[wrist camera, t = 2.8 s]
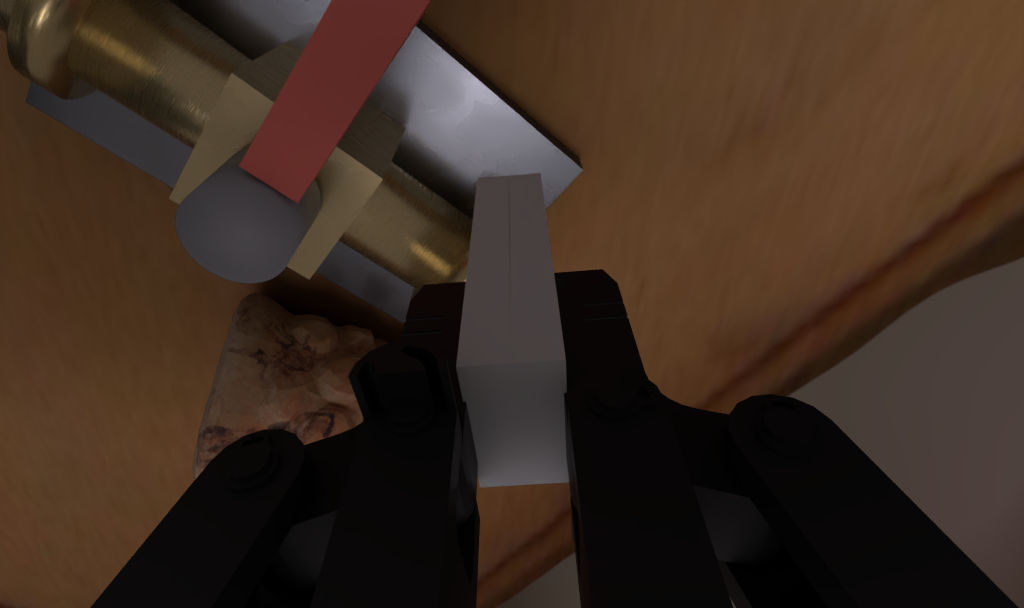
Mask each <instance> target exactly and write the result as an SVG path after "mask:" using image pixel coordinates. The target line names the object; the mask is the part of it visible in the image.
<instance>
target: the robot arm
mask: <svg viewBox="0 0 1024 608" xmlns="http://www.w3.org/2000/svg"><path fill="white" fill-rule="evenodd" d="M348 378H349V381H350V383H351V386H352V389H353V391H354V394H355V397H356V399H357V402H358V405H359V408H360V410H361V413H362V416H363V418H364V419H363V422H362V423H360V424H358V425H357V426H355V427H354V428H352V429H349V430H347V431H344V432H342V433H340V434H337V435H334V436H331V437H327V438H324V439H321V440H318V441H315V442H312V443H309V444H306V445H304V444H303V443H302V441H301V440H300V439H299V438H298V436H297V435H296V434H295V433H292V432H289V431H286V430H284V429H264V430H260V431H257V432H254V433H251V434H248V435H245V436H243V437H241V438H239V439H238V440H236V441H234V442H233V443H231V444H229V445H228V446H226V447H225V448H224V449H223V450H222V451H221V452H220V453H219V454H217V455H216V456H215V457H214V458H213V459H212V460H211V461H210V462H209V464H208V465H207V466H206V467H205V468H204V470H203V471H202V472H201V473H200V475H199V476H198V477H197V478H196V479H195V481H194V482H193V483H192V484H191V486H190V487H189V488H188V489H187V490H186V492H185V493H184V494H183V495H182V496H181V498H180V499H179V500H178V501H177V503H176V504H175V505H174V506H173V507H172V509H171V510H170V511H169V512H168V514H167V515H166V516H165V517H164V518H163V520H162V521H161V522H160V523H159V525H158V526H157V527H156V528H155V529H154V531H153V532H152V533H151V534H150V536H149V537H148V538H147V539H146V540H145V542H144V543H143V544H142V545H141V547H140V548H139V549H138V550H137V551H136V553H135V554H134V555H133V556H132V557H131V559H130V560H129V561H128V562H127V564H126V565H125V566H124V567H123V568H122V570H121V571H120V572H119V573H118V575H117V576H116V577H115V578H114V579H113V581H112V582H111V583H110V584H109V586H108V587H107V588H106V589H105V590H104V592H103V593H102V594H101V595H100V597H99V598H98V599H97V600H96V601H95V603H94V604H93V605H92V606H91V608H476V603H477V579H478V555H479V531H480V517H479V511H478V506H477V501H476V492H477V474H478V479H479V484H480V487H494V486H511V485H528V484H545V483H562V482H569V485H570V494H571V524H572V541H574V545H575V555H576V563H577V574H578V583H579V592H580V601H581V608H733V606H732V603H731V600H732V601H733V603H734V605H735V606H736V608H1018V607H1017V606H1016V605H1015V604H1014V603H1013V602H1012V601H1011V600H1010V599H1009V598H1008V597H1007V596H1006V595H1005V594H1004V593H1003V592H1002V591H1001V590H1000V589H999V588H998V587H997V586H996V585H995V584H994V583H993V581H991V579H990V578H989V577H988V576H986V574H984V572H983V571H982V570H980V568H979V567H977V565H976V564H975V563H973V561H972V560H971V559H970V558H969V557H968V556H967V555H966V554H964V552H963V551H962V550H961V549H959V547H958V546H957V545H956V544H954V542H952V540H951V539H950V538H949V537H948V536H947V535H945V534H944V533H943V532H942V530H941V529H940V528H938V526H937V525H936V524H935V523H934V522H933V521H932V520H931V519H930V518H929V517H928V516H927V515H926V514H924V512H923V511H922V510H921V509H920V508H919V507H918V506H917V505H916V504H915V503H914V502H913V501H912V500H911V499H910V498H909V497H908V496H907V495H906V494H905V493H904V492H903V491H901V489H900V488H899V487H898V486H897V485H896V484H895V483H894V482H893V481H892V480H891V479H890V478H889V477H888V476H887V475H886V474H885V473H884V472H883V471H882V470H881V469H880V468H879V467H878V466H877V465H876V464H875V463H874V462H873V461H872V460H871V459H870V458H869V457H868V456H867V455H866V454H865V453H864V452H863V451H862V450H861V449H860V448H859V447H858V446H857V445H856V444H855V443H854V442H853V441H852V440H851V439H850V438H849V437H848V436H847V435H846V434H845V433H844V432H843V431H842V430H841V429H840V428H839V427H838V426H837V425H836V424H835V423H834V422H833V421H832V420H831V419H829V418H828V417H827V416H825V415H824V414H823V413H821V412H820V411H819V410H818V409H816V408H815V407H813V406H811V405H809V404H806V403H804V402H802V401H799V400H797V399H794V398H791V397H785V396H780V395H774V394H768V395H758V396H751V397H749V398H747V399H745V400H743V401H741V402H739V403H737V405H736V406H735V408H734V409H733V410H732V412H731V413H730V414H729V415H728V414H722V413H717V412H712V411H706V410H701V409H696V408H692V407H689V406H685V405H682V404H679V403H677V402H675V401H673V400H671V399H669V398H667V397H666V396H664V395H663V394H662V393H661V392H660V391H659V389H658V387H657V386H656V385H655V384H654V383H652V382H651V381H650V380H649V379H648V377H647V375H646V373H645V371H644V368H643V364H642V361H641V358H640V355H639V351H638V348H637V345H636V342H635V338H634V335H633V332H632V329H631V325H630V322H629V319H628V318H627V312H626V309H625V306H624V304H623V300H622V296H621V293H620V290H619V287H618V283H617V282H616V281H614V280H613V279H612V278H611V277H610V276H609V275H608V274H607V273H606V272H605V271H604V270H602V269H600V270H587V271H574V272H561V273H554V269H553V262H552V254H551V247H550V240H549V232H548V225H547V218H546V210H545V203H544V196H543V188H542V181H541V173H534V174H522V175H510V176H498V177H486V178H478V179H477V188H476V196H475V205H474V214H473V223H472V232H471V240H470V249H469V258H468V267H467V275H466V282H453V283H440V284H426V285H424V286H423V287H422V288H421V289H420V290H419V291H418V292H417V294H416V295H415V296H414V297H413V298H412V299H411V300H410V303H409V307H408V311H407V315H406V322H405V323H404V327H403V331H402V337H401V339H400V341H397V342H392V343H387V344H385V345H383V346H380V347H378V348H376V349H374V350H372V351H370V352H368V353H367V354H366V355H365V356H363V357H362V358H361V359H360V360H359V361H357V362H356V363H355V365H354V367H353V368H352V370H351V372H350V373H349V375H348ZM729 596H730V597H729ZM730 598H731V600H730Z"/></svg>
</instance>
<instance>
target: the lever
mask: <svg viewBox="0 0 1024 608" xmlns="http://www.w3.org/2000/svg"><path fill="white" fill-rule="evenodd" d="M431 1H432V0H331V2H330V4H329V6H328V7H327V9H326V11H325V13H324V15H323V16H322V18H321V20H320V22H319V24H318V25H317V27H316V29H315V31H314V32H313V34H312V36H311V38H310V40H309V41H308V43H307V45H306V47H305V49H304V50H303V52H302V54H301V56H300V57H299V59H298V61H297V63H296V65H295V66H294V68H293V70H292V72H291V74H290V75H289V77H288V79H287V81H286V83H285V84H284V86H283V88H282V90H281V91H280V93H279V95H278V97H277V99H276V100H275V102H274V104H273V106H272V108H271V109H270V111H269V113H268V115H267V116H266V118H265V120H264V122H263V124H262V125H261V127H260V129H259V131H258V133H257V134H256V136H255V138H254V140H253V141H252V143H251V145H250V147H248V148H245V149H242V150H240V151H238V152H237V153H235V154H234V155H233V156H232V157H230V158H229V159H228V160H227V161H226V162H225V163H224V164H223V165H221V166H220V167H219V168H218V169H217V170H216V171H215V172H213V173H212V174H211V175H210V176H209V177H208V178H207V179H206V180H204V181H203V182H202V183H201V184H200V185H199V186H198V187H196V188H195V189H194V190H193V191H192V192H191V193H190V194H188V195H187V196H186V197H185V198H184V199H183V200H182V202H181V203H180V205H179V207H178V209H177V212H176V217H175V224H176V231H177V234H178V237H179V239H180V241H181V243H182V245H183V247H184V248H185V250H186V251H187V252H188V254H189V255H190V256H191V257H192V258H193V259H194V260H195V261H196V262H197V263H198V264H199V265H201V266H202V267H203V268H205V269H206V270H208V271H209V272H211V273H213V274H215V275H217V276H219V277H221V278H224V279H227V280H230V281H234V282H239V283H260V282H264V281H268V280H270V279H273V278H274V277H276V276H278V275H279V274H280V273H281V272H282V271H283V270H284V269H285V268H286V266H287V264H288V263H289V261H290V260H291V258H292V256H293V255H294V253H295V251H296V250H297V248H298V247H299V245H300V243H301V242H302V240H303V238H304V237H305V235H306V234H307V232H308V230H309V229H310V227H311V225H312V224H313V222H314V221H315V219H316V217H317V215H318V213H319V210H320V205H321V196H320V191H319V187H318V185H317V182H316V180H315V178H316V177H317V175H318V174H319V172H320V171H321V169H322V168H323V166H324V165H325V163H326V162H327V160H328V159H329V157H330V155H331V154H332V152H333V151H334V149H335V148H336V146H337V145H338V143H339V142H340V140H341V139H342V137H343V136H344V134H345V133H346V131H347V130H348V128H349V126H350V125H351V123H352V122H353V120H354V119H355V117H356V116H357V114H358V113H359V111H360V110H361V108H362V107H363V105H364V104H365V102H366V101H367V99H368V98H369V96H370V94H371V93H372V91H373V90H374V88H375V87H376V85H377V84H378V82H379V81H380V79H381V78H382V76H383V75H384V73H385V72H386V70H387V69H388V67H389V66H390V64H391V62H392V61H393V59H394V58H395V56H396V55H397V53H398V52H399V50H400V49H401V47H402V46H403V44H404V43H405V41H406V40H407V38H408V37H409V35H410V33H411V32H412V30H413V29H414V27H415V26H416V24H417V23H418V21H419V20H420V18H421V17H422V15H423V14H424V12H425V11H426V9H427V8H428V6H429V5H430V3H431Z"/></svg>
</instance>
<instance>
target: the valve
mask: <svg viewBox="0 0 1024 608" xmlns="http://www.w3.org/2000/svg"><path fill="white" fill-rule="evenodd" d="M330 2H331V0H0V29H1V30H2V31H4V32H6V33H7V50H8V55H9V59H10V61H11V63H12V65H13V67H14V68H15V70H16V71H17V72H19V73H20V74H21V75H23V76H24V77H26V78H28V79H29V80H31V81H32V82H31V85H30V88H29V92H28V95H27V99H26V102H27V103H29V104H30V105H32V106H34V107H36V108H37V109H39V110H41V111H42V112H44V113H46V114H47V115H49V116H51V117H53V118H54V119H56V120H58V121H59V122H61V123H63V124H64V125H66V126H68V127H70V128H71V129H73V130H75V131H76V132H78V133H80V134H81V135H83V136H85V137H87V138H88V139H90V140H92V141H93V142H95V143H97V144H99V145H100V146H102V147H104V148H105V149H107V150H109V151H110V152H112V153H114V154H116V155H117V156H119V157H121V158H122V159H124V160H126V161H127V162H129V163H131V164H133V165H134V166H136V167H138V168H139V169H141V170H143V171H145V172H146V173H148V174H150V175H151V176H153V177H155V178H156V179H158V180H160V181H162V182H163V183H165V184H167V185H168V186H170V187H172V188H173V191H172V193H171V195H170V197H169V199H171V200H172V201H174V202H176V203H178V204H179V205H180V203H181V202H182V200H183V199H184V198H185V197H186V196H187V195H188V194H190V193H191V192H192V191H193V190H194V189H195V188H196V187H198V186H199V185H200V184H201V183H202V182H203V181H204V180H206V179H207V178H208V177H209V176H210V175H211V174H212V173H213V172H215V171H216V170H217V169H218V168H219V167H220V166H221V165H223V164H224V163H225V162H226V161H227V160H228V159H229V158H230V157H232V156H233V155H234V154H235V153H237V152H238V151H240V150H242V149H245V148H248V147H250V145H251V143H252V141H253V140H254V138H255V136H256V134H257V133H258V131H259V129H260V127H261V125H262V124H263V122H264V120H265V118H266V116H267V115H268V113H269V111H270V109H271V108H272V106H273V104H274V102H275V100H276V99H277V97H278V95H279V93H280V91H281V90H282V88H283V86H284V84H285V83H286V81H287V79H288V77H289V75H290V74H291V72H292V70H293V68H294V66H295V65H296V63H297V61H298V59H299V57H300V56H301V54H302V52H303V50H304V49H305V47H306V45H307V43H308V41H309V40H310V38H311V36H312V34H313V32H314V31H315V29H316V27H317V25H318V24H319V22H320V20H321V18H322V16H323V15H324V13H325V11H326V9H327V7H328V6H329V4H330ZM582 171H583V168H582V165H581V162H580V159H579V158H578V157H577V156H575V155H574V154H573V153H572V152H571V151H570V150H568V149H567V148H566V147H565V146H564V145H563V144H562V143H560V142H559V141H558V140H557V139H556V138H555V137H554V136H552V135H551V134H550V133H549V132H548V131H547V130H545V129H544V128H543V127H542V126H541V125H540V124H539V123H537V122H536V121H535V120H534V119H533V118H532V117H530V116H529V115H528V114H527V113H526V112H525V111H524V110H522V109H521V108H520V107H519V106H518V105H517V104H516V103H514V102H513V101H512V100H511V99H510V98H509V97H507V96H506V95H505V94H504V93H503V92H502V91H501V90H499V89H498V88H497V87H496V86H495V85H494V84H492V83H491V82H490V81H489V80H488V79H487V78H486V77H484V76H483V75H482V74H481V73H480V72H479V71H478V70H476V69H475V68H474V67H473V66H472V65H471V64H469V63H468V62H467V61H466V60H465V59H464V58H463V57H461V56H460V55H459V54H458V53H457V52H456V51H454V50H453V49H452V48H451V47H450V46H449V45H448V44H446V43H445V42H444V41H443V40H442V39H441V38H440V37H438V36H437V35H436V34H435V33H434V32H433V31H431V30H430V29H429V28H428V27H427V26H426V25H425V24H423V23H422V22H421V21H420V20H419V21H418V23H417V24H416V26H415V27H414V29H413V30H412V32H411V33H410V35H409V37H408V38H407V40H406V41H405V43H404V44H403V46H402V47H401V49H400V50H399V52H398V53H397V55H396V56H395V58H394V59H393V61H392V62H391V64H390V66H389V67H388V69H387V70H386V72H385V73H384V75H383V76H382V78H381V79H380V81H379V82H378V84H377V85H376V87H375V88H374V90H373V91H372V93H371V94H370V96H369V98H368V99H367V101H366V102H365V104H364V105H363V107H362V108H361V110H360V111H359V113H358V114H357V116H356V117H355V119H354V120H353V122H352V123H351V125H350V126H349V128H348V130H347V131H346V133H345V134H344V136H343V137H342V139H341V140H340V142H339V143H338V145H337V146H336V148H335V149H334V151H333V152H332V154H331V155H330V157H329V159H328V160H327V162H326V163H325V165H324V166H323V168H322V169H321V171H320V172H319V174H318V175H317V177H316V178H315V180H316V182H317V185H318V187H319V191H320V196H321V205H320V210H319V213H318V215H317V217H316V219H315V221H314V222H313V224H312V225H311V227H310V229H309V230H308V232H307V234H306V235H305V237H304V238H303V240H302V242H301V243H300V245H299V247H298V248H297V250H296V251H295V253H294V255H293V256H292V258H291V260H290V261H289V263H288V264H287V267H288V268H290V269H292V270H293V271H295V272H297V273H299V274H300V275H302V276H304V277H306V278H307V279H309V280H310V278H311V277H312V276H313V274H314V273H315V272H317V273H318V274H320V275H322V276H323V277H325V278H327V279H328V280H330V281H332V282H334V283H335V284H337V285H339V286H340V287H342V288H344V289H346V290H347V291H349V292H351V293H352V294H354V295H356V296H357V297H359V298H361V299H363V300H364V301H366V302H368V303H369V304H371V305H373V306H374V307H376V308H378V309H380V310H381V311H383V312H385V313H386V314H388V315H390V316H392V317H393V318H395V319H397V320H398V321H400V322H402V323H403V324H404V323H405V322H406V315H407V311H408V307H409V303H410V300H411V299H412V298H413V297H414V296H415V295H416V294H417V292H418V291H419V290H420V289H421V288H422V287H423V286H424V285H426V284H440V283H453V282H466V275H467V267H468V258H469V249H470V240H471V232H472V223H473V214H474V205H475V196H476V188H477V179H478V178H486V177H498V176H510V175H522V174H534V173H541V181H542V188H543V196H544V203H545V210H546V209H547V208H548V206H549V205H550V204H551V203H552V202H553V201H554V200H555V199H556V198H557V197H558V196H559V195H560V194H561V193H562V192H563V191H564V190H565V189H566V188H567V187H568V186H569V184H570V183H571V182H572V181H573V180H574V179H575V178H576V177H577V176H578V175H579V174H580V173H581V172H582Z"/></svg>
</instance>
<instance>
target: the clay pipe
mask: <svg viewBox="0 0 1024 608" xmlns="http://www.w3.org/2000/svg"><path fill="white" fill-rule="evenodd" d="M387 343H388V342H386V341H383V340H381V339H378V338H374V337H373V334H372V332H371V331H370V330H369V329H363V328H359V327H357V326H354V325H346V326H342V327H338V326H335V325H333V324H332V323H331V322H330V321H329V320H328V319H327V318H324V317H320V316H316V315H313V314H306V315H293V314H291V313H290V312H288V311H287V310H286V309H285V308H283V307H282V306H281V305H280V304H278V303H277V302H275V301H274V300H272V299H271V298H269V297H267V296H266V295H264V294H260V293H253V294H250V295H248V296H247V297H245V298H244V299H243V300H242V301H241V302H240V304H239V306H238V308H237V310H236V312H235V314H234V316H233V320H232V323H231V326H230V330H229V333H228V336H227V340H226V343H225V346H224V348H223V351H222V354H221V357H220V360H219V364H218V367H217V371H216V374H215V378H214V381H213V385H212V389H211V392H210V395H209V398H208V401H207V404H206V407H205V411H204V415H203V419H202V422H201V426H200V429H199V436H198V443H197V446H196V450H195V454H194V462H193V470H192V473H193V479H194V480H195V479H196V478H197V477H198V476H199V475H200V473H201V472H202V471H203V470H204V468H205V467H206V466H207V465H208V464H209V462H210V461H211V460H212V459H213V458H214V457H215V456H216V455H217V454H219V453H220V452H221V451H222V450H223V449H224V448H225V447H226V446H228V445H229V444H231V443H233V442H234V441H236V440H238V439H239V438H241V437H243V436H245V435H248V434H251V433H254V432H257V431H260V430H264V429H284V430H286V431H289V432H292V433H295V434H296V435H297V436H298V438H299V439H300V440H301V441H302V443H303V444H304V445H306V444H309V443H312V442H315V441H318V440H321V439H324V438H327V437H331V436H334V435H337V434H340V433H342V432H344V431H347V430H349V429H352V428H354V427H355V426H357V425H358V424H360V423H362V422H363V419H364V418H363V416H362V413H361V410H360V408H359V405H358V402H357V399H356V397H355V394H354V391H353V389H352V386H351V383H350V381H349V378H348V375H349V373H350V372H351V370H352V368H353V367H354V365H355V363H356V362H357V361H359V360H360V359H361V358H362V357H363V356H365V355H366V354H367V353H368V352H370V351H372V350H374V349H376V348H378V347H380V346H383V345H385V344H387Z"/></svg>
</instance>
